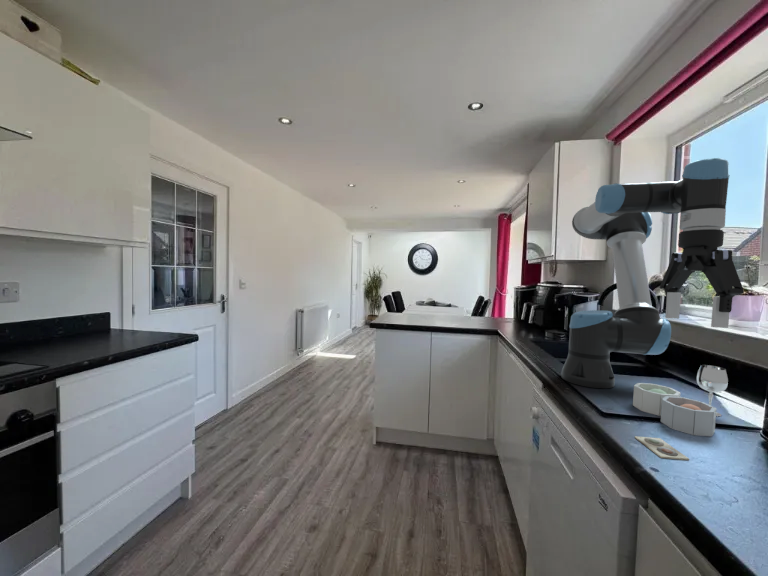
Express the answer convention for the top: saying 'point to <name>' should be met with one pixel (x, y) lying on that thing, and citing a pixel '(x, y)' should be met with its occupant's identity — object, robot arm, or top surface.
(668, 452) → the card
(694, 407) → the terracotta ball
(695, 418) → the grey octagonal bowl
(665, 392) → the sage ball
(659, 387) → the white octagonal bowl
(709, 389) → the wineglass
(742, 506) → the top surface
